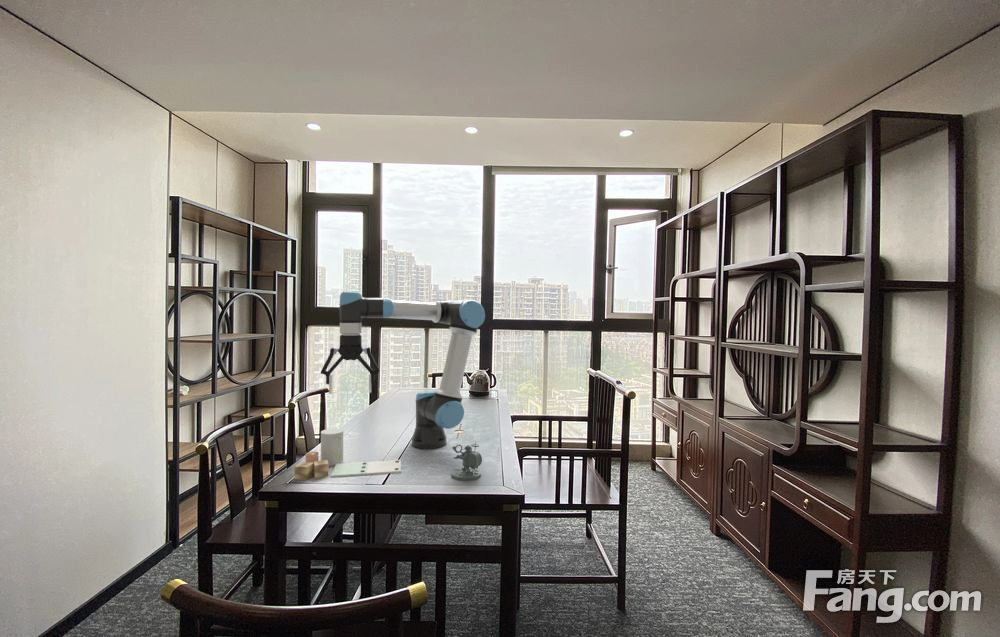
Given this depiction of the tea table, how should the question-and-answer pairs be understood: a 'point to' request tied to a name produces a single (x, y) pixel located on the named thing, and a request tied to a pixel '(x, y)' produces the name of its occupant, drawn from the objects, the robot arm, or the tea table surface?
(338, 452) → the cup
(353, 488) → the tea table surface
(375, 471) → the pad two
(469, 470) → the figurine
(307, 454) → the terracotta cylinder
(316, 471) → the oak block
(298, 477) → the oak block
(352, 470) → the pad three
